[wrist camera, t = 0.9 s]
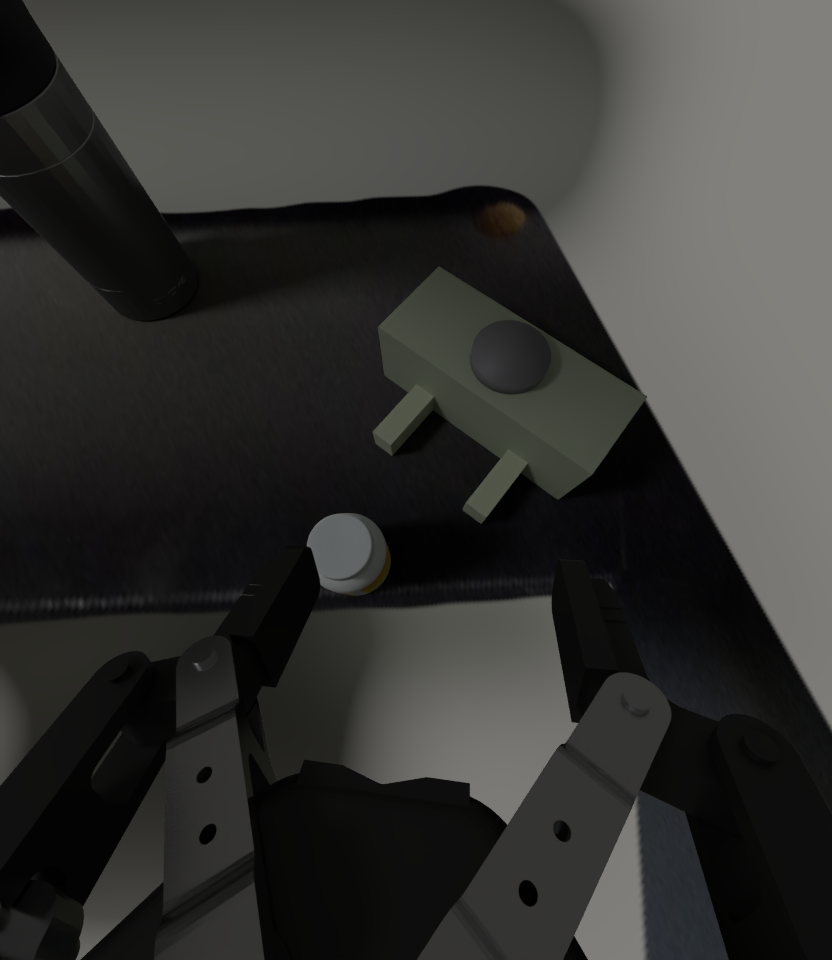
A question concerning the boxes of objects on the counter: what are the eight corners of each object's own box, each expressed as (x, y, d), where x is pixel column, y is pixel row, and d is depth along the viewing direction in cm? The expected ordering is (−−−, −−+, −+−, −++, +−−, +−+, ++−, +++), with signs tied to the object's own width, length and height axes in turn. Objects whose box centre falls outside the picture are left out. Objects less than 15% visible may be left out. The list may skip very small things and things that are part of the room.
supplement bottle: (331, 601, 32) (297, 599, 23) (324, 536, 33) (289, 510, 24) (396, 589, 32) (389, 582, 23) (386, 525, 34) (376, 495, 25)
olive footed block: (343, 418, 37) (324, 369, 29) (434, 322, 40) (439, 256, 32) (519, 553, 33) (550, 537, 25) (604, 434, 36) (655, 389, 29)
